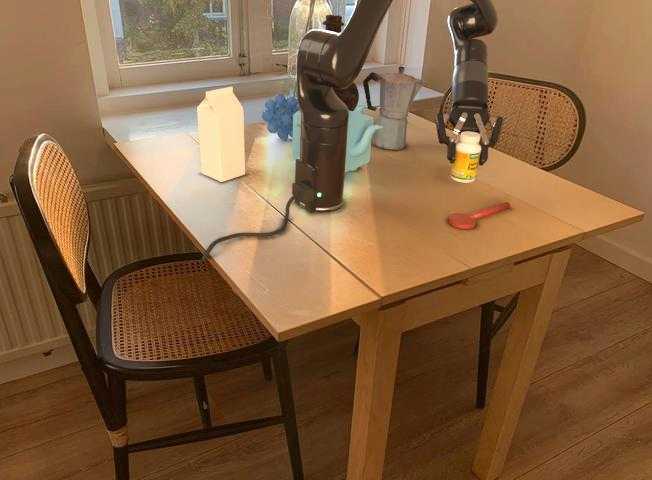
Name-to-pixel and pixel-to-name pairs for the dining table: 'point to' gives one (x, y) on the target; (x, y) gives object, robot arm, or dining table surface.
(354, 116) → the teakettle
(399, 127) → the moka pot
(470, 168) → the supplement bottle
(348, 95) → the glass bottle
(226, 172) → the milk carton
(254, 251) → the dining table surface
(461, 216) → the red spoon
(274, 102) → the grapes
